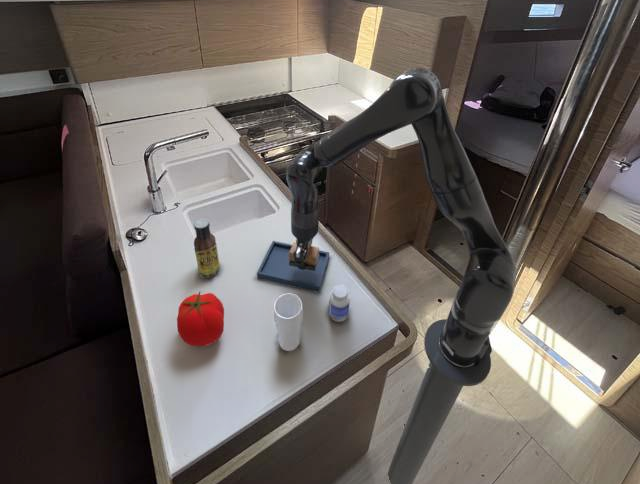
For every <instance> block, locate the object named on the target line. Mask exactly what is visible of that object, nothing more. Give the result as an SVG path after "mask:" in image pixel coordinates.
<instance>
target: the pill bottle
mask: <svg viewBox="0 0 640 484" xmlns="http://www.w3.org/2000/svg"><path fill="white" fill-rule="evenodd" d="M350 296H351V295H350V293H349V292H348V287H347V286H345V285H344V284H335V285H334V287H333V288H332V291H331V292H330V295H329V307H328V308H329V309H328V314H329V316H330V318H331V320H333V321H335V322H338V323H339V322H340V323H341V322H344V321H346V320H347V319H348V316H349V313H350V301H351V297H350Z"/></svg>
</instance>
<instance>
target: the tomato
mask: <svg viewBox="0 0 640 484" xmlns="http://www.w3.org/2000/svg"><path fill="white" fill-rule="evenodd" d="M224 318H225V307H224V305H223V303H222V301H221V300H220V298H219V297H217V296H216V294H215V293H212V292H207V293H203V294H201V291H199V292H198V293H193V294H191V295H189V296H187V297H185V298H184V299H183V300H182V302H180V304H179V306H178V311H177V318H176V326H177V333H178V335H179V337H180V339H181V340H182V341H183V342H184V343H185V344H187V345H188V346H190V347H205V346H208V345H212V344H214V343H215V342H217V341H218V340H219V339H220V338H221V336H222V335H223V332H224V329H225V328H224V327H225V321H224Z"/></svg>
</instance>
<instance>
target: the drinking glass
mask: <svg viewBox="0 0 640 484" xmlns="http://www.w3.org/2000/svg"><path fill="white" fill-rule="evenodd" d="M303 316H304V310H303V301H302V299H301V297H299V295H297V294H295V293H291V292H287V293H283V294H281V295H279V296H278V297H277V298H276V300H275V301H274V304H273V319H274V323H275V329H276V333H277V337H278V344H279V346H280V348H281V349H282V350H284V351H286V352H292V351H295V350H296V349H297V348H298V346H299V345H300V342H301V332H302V325H303V324H302V323H303Z"/></svg>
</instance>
